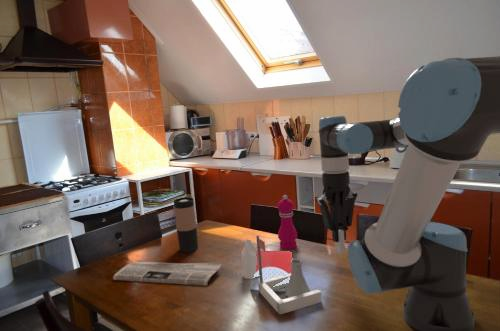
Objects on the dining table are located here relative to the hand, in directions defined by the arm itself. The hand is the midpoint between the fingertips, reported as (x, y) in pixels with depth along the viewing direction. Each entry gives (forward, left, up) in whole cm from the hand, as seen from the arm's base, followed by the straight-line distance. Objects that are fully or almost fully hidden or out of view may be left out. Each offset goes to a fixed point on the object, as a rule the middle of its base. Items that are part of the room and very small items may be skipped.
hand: (340, 251), depth 109 cm
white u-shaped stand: (+1, +16, -10) cm, 19 cm away
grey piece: (+19, +21, -10) cm, 30 cm away
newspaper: (+34, +45, -11) cm, 57 cm away
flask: (+1, +14, -10) cm, 17 cm away
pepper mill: (+34, 0, -10) cm, 35 cm away
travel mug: (+53, +34, -10) cm, 64 cm away
